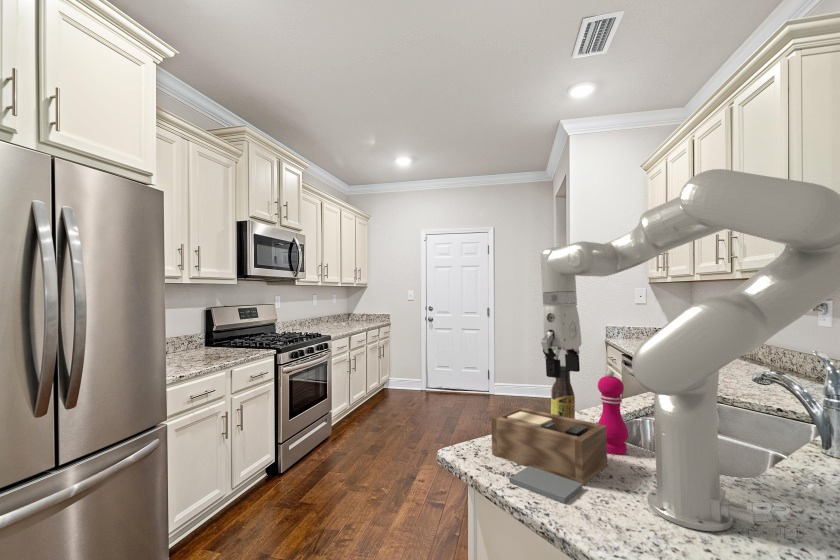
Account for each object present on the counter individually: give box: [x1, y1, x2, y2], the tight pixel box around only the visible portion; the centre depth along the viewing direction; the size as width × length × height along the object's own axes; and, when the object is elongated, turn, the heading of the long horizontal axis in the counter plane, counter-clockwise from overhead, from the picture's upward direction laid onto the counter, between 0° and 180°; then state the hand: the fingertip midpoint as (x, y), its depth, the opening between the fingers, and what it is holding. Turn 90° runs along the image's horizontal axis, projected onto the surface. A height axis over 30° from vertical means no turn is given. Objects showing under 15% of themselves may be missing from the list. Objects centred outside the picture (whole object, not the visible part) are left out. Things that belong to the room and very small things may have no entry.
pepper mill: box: [597, 369, 629, 456], centre depth 98 cm, size 7×7×20 cm
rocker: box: [544, 422, 588, 437], centre depth 93 cm, size 18×6×4 cm, turn 44°
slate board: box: [508, 466, 584, 504], centre depth 80 cm, size 12×8×1 cm, turn 44°
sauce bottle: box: [550, 363, 576, 419], centre depth 108 cm, size 6×6×20 cm
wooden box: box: [490, 406, 608, 486], centre depth 93 cm, size 23×13×9 cm, turn 44°
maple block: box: [507, 411, 553, 428], centre depth 96 cm, size 9×6×2 cm, turn 44°
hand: (563, 374), depth 90 cm, fingers open, 9 cm apart
